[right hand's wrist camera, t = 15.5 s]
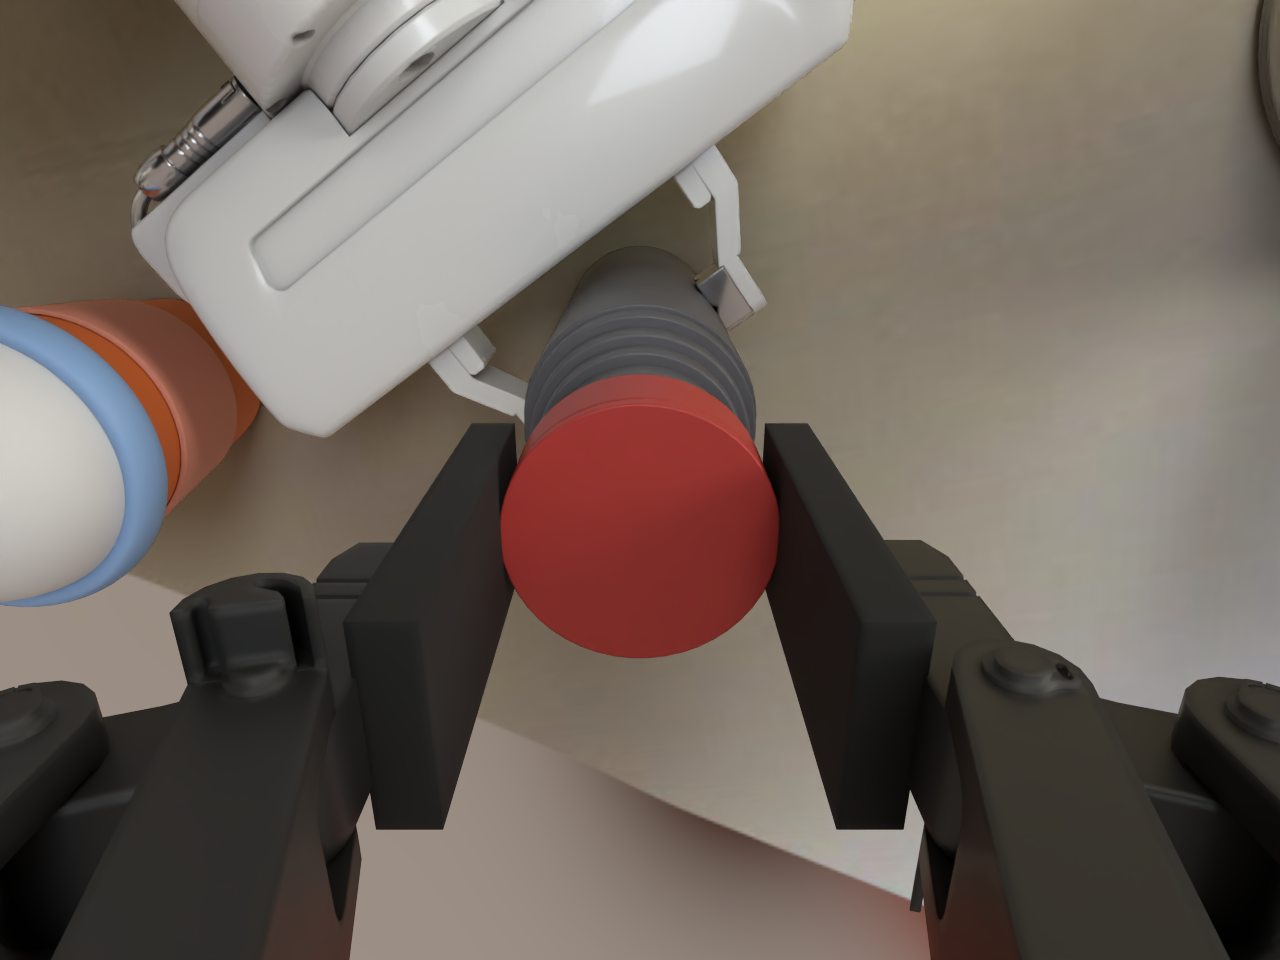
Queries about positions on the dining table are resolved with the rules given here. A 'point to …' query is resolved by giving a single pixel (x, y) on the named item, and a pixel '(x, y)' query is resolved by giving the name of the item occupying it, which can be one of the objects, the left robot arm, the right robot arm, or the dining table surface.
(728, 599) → the cap
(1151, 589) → the dining table surface
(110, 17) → the dining table surface
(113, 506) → the cup with straw
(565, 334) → the bottle
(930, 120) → the dining table surface
